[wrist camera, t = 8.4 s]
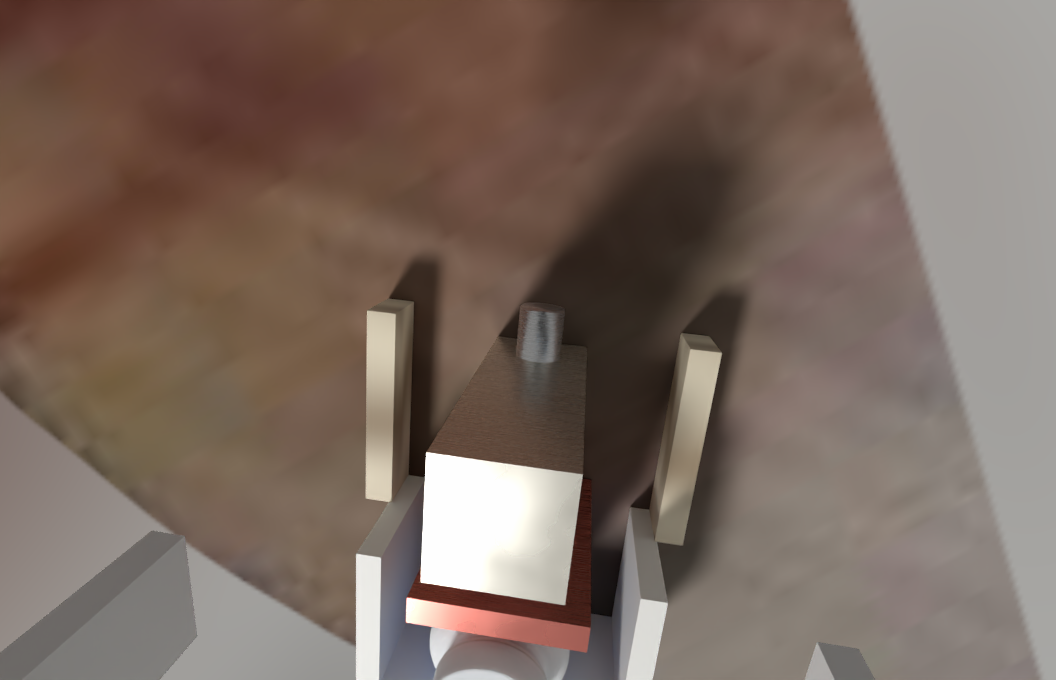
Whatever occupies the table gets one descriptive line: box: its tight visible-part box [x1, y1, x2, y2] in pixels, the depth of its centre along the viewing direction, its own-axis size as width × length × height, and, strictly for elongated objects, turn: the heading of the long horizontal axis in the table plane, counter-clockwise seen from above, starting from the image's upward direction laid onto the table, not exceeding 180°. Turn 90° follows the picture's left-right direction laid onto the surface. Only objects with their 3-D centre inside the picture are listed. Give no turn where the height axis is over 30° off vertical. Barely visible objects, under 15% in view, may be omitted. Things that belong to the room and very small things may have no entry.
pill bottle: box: [430, 627, 570, 680], centre depth 23 cm, size 6×5×10 cm
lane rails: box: [366, 299, 722, 546], centre depth 24 cm, size 9×14×2 cm, turn 85°
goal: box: [356, 475, 668, 680], centre depth 25 cm, size 8×12×6 cm, turn 85°
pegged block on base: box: [406, 302, 591, 653], centre depth 20 cm, size 10×6×11 cm, turn 175°
